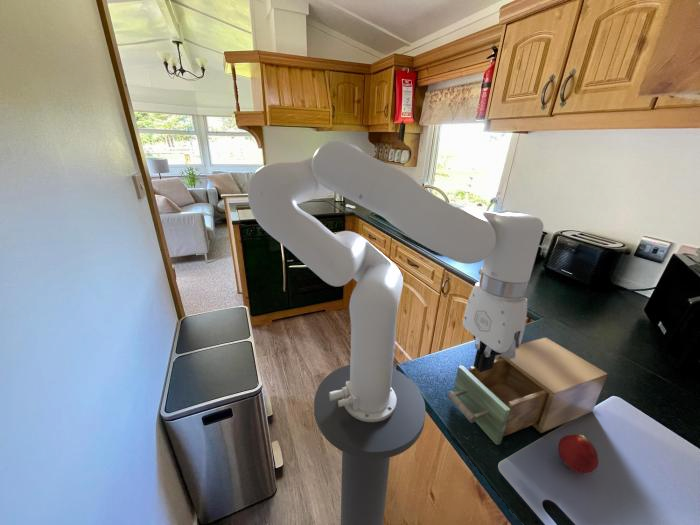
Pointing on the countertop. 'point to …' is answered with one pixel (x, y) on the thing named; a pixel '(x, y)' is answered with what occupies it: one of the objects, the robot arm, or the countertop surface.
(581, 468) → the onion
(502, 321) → the robot arm
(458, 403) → the drawer
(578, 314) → the countertop surface
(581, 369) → the cabinet
